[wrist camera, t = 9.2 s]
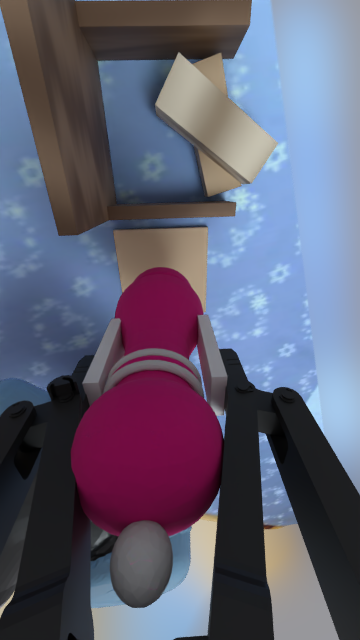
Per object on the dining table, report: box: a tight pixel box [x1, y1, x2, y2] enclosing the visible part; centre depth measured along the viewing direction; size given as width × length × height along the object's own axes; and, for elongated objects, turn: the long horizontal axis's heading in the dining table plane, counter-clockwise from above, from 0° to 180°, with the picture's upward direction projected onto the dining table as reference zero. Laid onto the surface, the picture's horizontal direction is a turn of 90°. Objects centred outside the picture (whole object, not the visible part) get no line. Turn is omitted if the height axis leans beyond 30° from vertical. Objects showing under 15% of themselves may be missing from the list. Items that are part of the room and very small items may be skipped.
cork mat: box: [113, 227, 208, 312], centre depth 31 cm, size 11×11×1 cm
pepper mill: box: [71, 267, 224, 608], centre depth 15 cm, size 7×7×20 cm
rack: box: [0, 0, 252, 236], centre depth 18 cm, size 14×14×14 cm
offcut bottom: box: [192, 53, 241, 197], centre depth 23 cm, size 10×4×3 cm, turn 17°
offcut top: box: [155, 52, 278, 184], centre depth 21 cm, size 10×4×3 cm, turn 58°
